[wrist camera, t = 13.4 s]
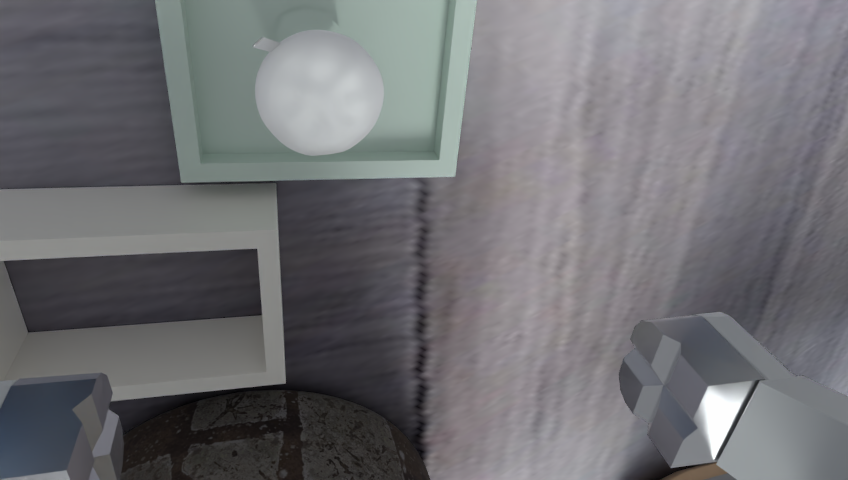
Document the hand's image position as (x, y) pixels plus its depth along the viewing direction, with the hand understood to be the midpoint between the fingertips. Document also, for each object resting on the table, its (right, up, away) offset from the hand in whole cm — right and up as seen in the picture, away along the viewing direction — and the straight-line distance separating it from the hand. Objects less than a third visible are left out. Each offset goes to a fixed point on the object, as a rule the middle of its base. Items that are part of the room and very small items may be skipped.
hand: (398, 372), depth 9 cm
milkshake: (-5, +12, +18) cm, 23 cm away
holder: (-15, +1, +23) cm, 28 cm away
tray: (-4, +12, +19) cm, 23 cm away
